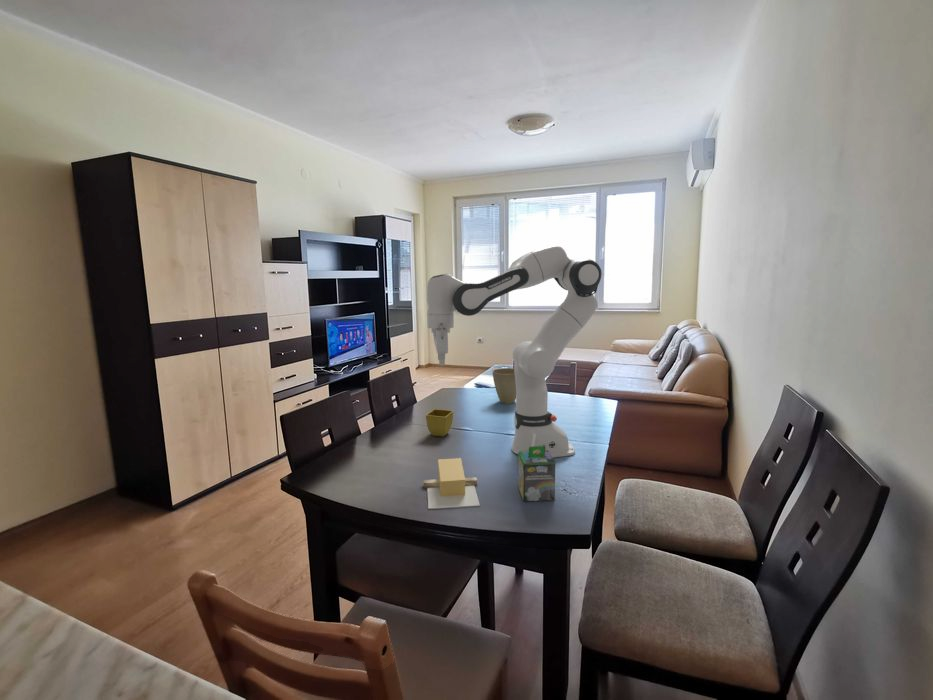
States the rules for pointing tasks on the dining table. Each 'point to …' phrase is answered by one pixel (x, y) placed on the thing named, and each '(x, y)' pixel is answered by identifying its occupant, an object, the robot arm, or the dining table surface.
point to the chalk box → (536, 474)
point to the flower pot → (439, 421)
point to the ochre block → (451, 477)
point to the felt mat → (452, 499)
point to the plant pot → (505, 384)
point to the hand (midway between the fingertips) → (441, 362)
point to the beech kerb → (436, 484)
